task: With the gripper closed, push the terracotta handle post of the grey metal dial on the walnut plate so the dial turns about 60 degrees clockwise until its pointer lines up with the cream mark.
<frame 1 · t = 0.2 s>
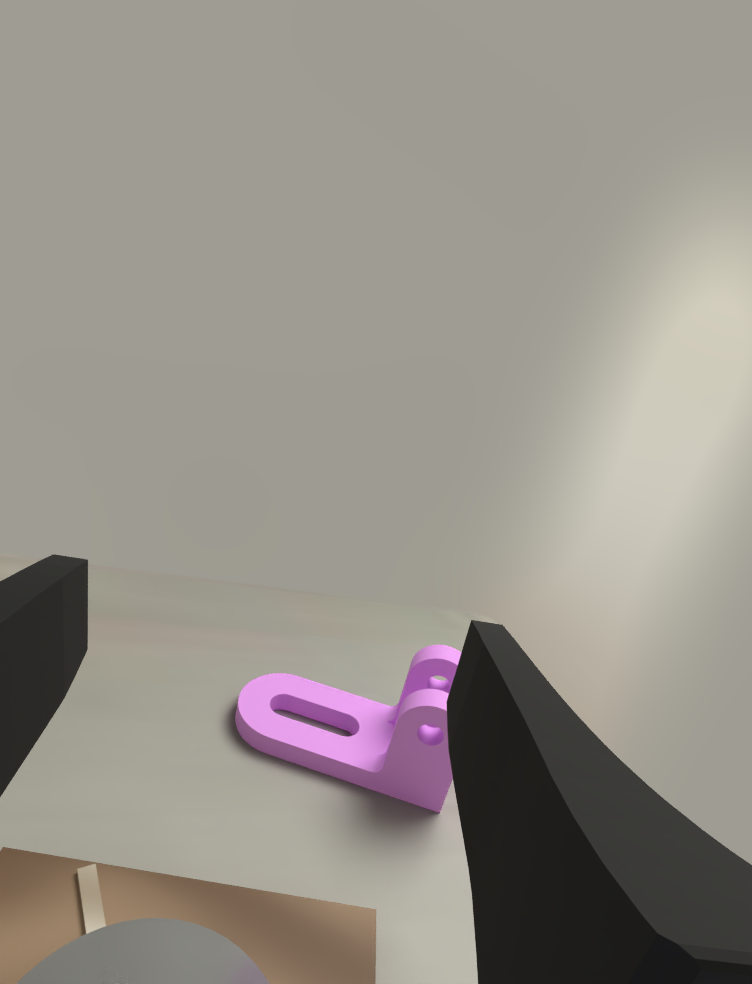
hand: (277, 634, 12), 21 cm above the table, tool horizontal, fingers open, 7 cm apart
bracket: (338, 744, 39), on the table
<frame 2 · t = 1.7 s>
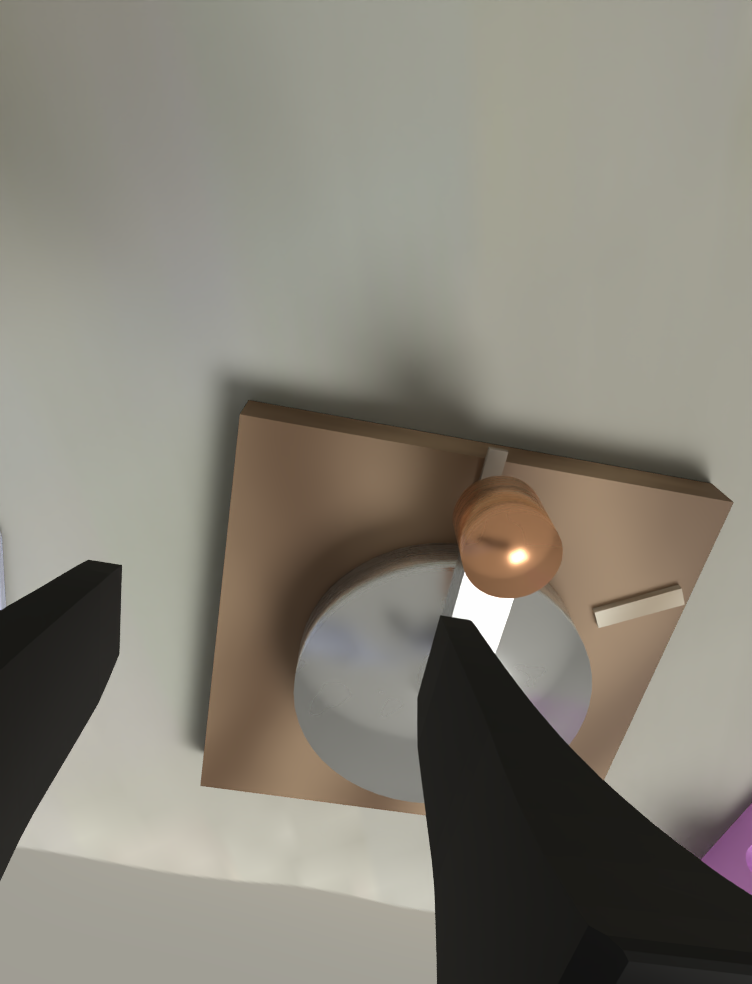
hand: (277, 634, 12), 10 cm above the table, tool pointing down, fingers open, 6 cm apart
dial plate: (433, 634, 25), on the table
dial: (454, 665, 21), point 4 cm above the table, hinge at 0.0°
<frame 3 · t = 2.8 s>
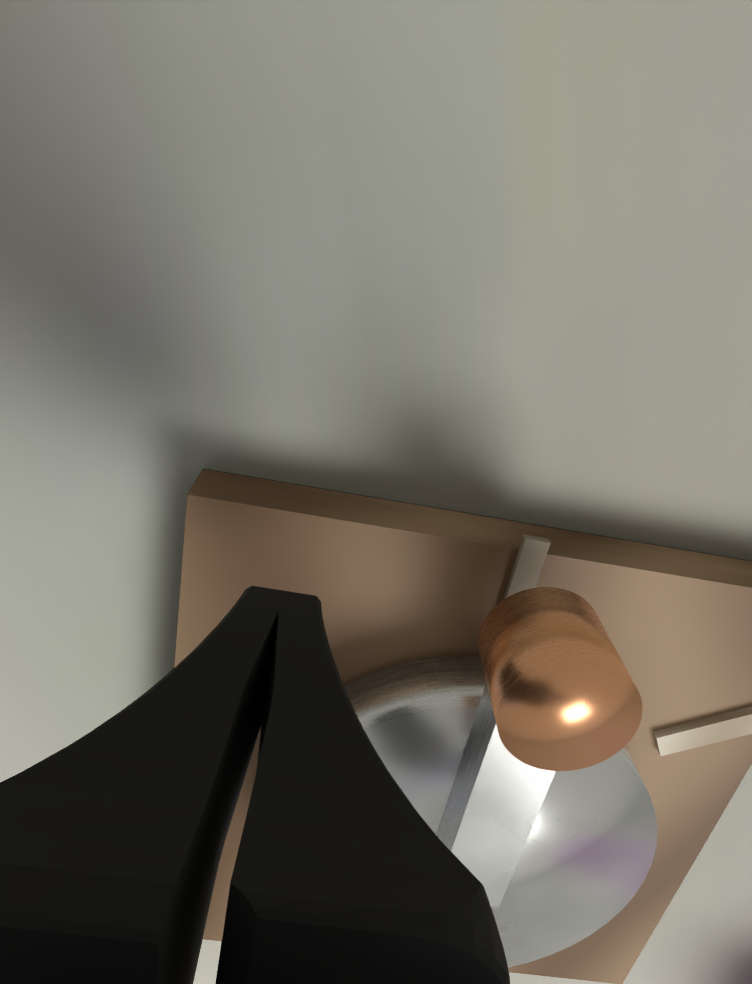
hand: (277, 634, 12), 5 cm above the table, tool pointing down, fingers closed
dial plate: (445, 750, 20), on the table
dial: (477, 821, 16), point 4 cm above the table, hinge at 0.0°
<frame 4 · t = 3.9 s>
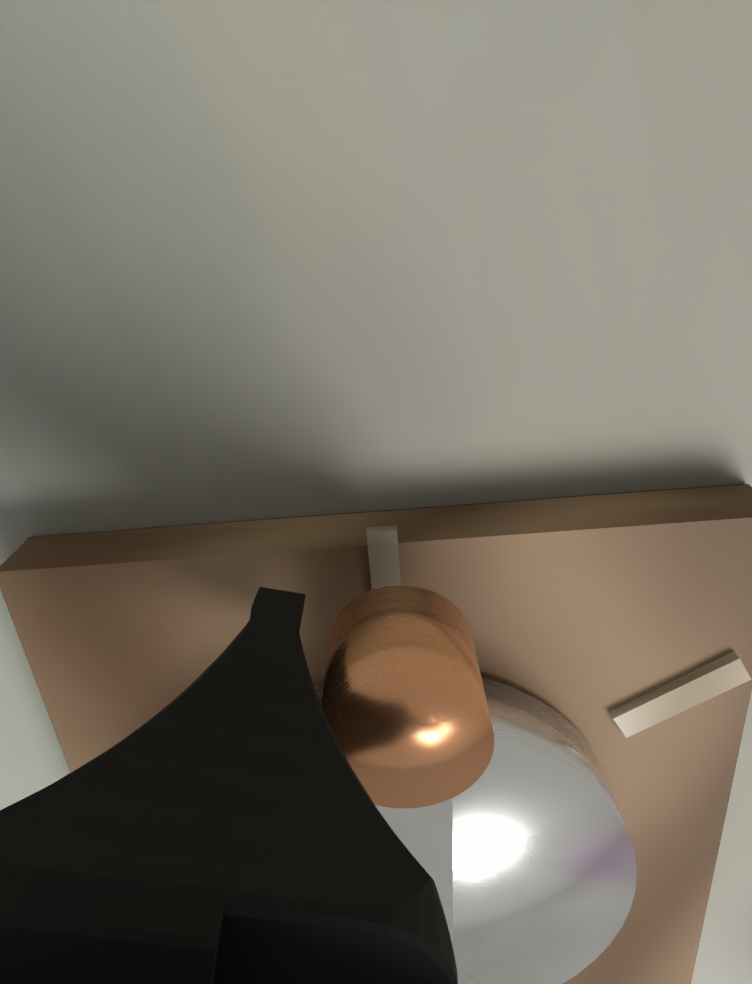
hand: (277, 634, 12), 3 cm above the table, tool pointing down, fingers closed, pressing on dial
dial plate: (404, 772, 18), on the table
dial: (409, 859, 14), point 4 cm above the table, hinge at -1.8°, touching gripper
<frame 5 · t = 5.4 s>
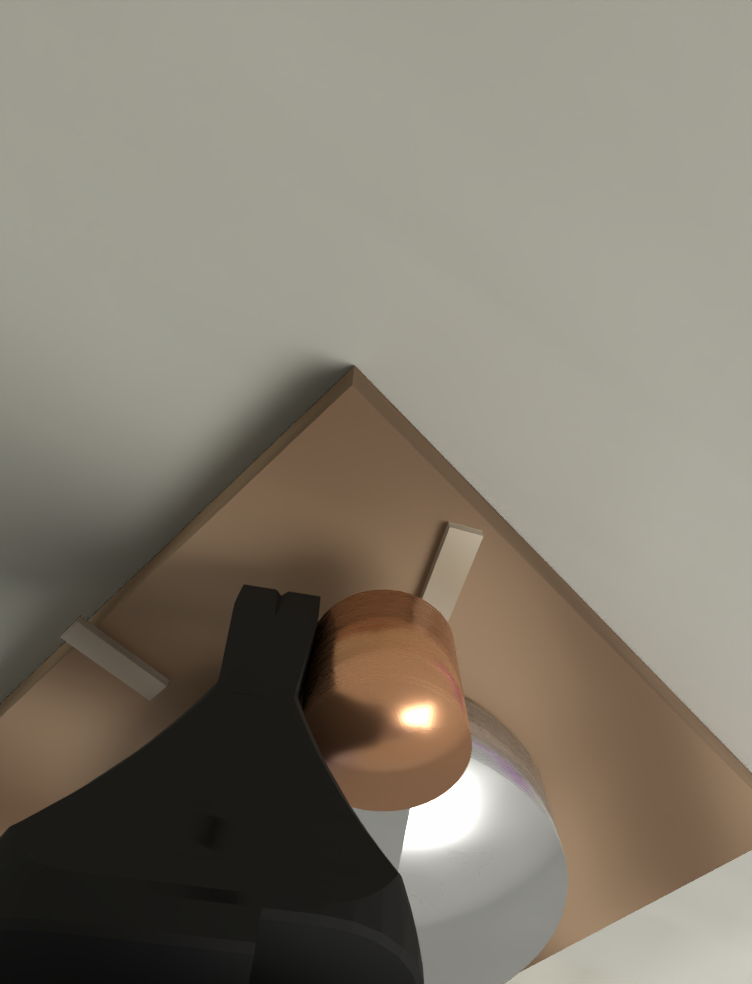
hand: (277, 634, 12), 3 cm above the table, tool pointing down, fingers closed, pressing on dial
dial plate: (350, 773, 18), on the table
dial: (351, 861, 14), point 4 cm above the table, hinge at -50.4°, touching gripper
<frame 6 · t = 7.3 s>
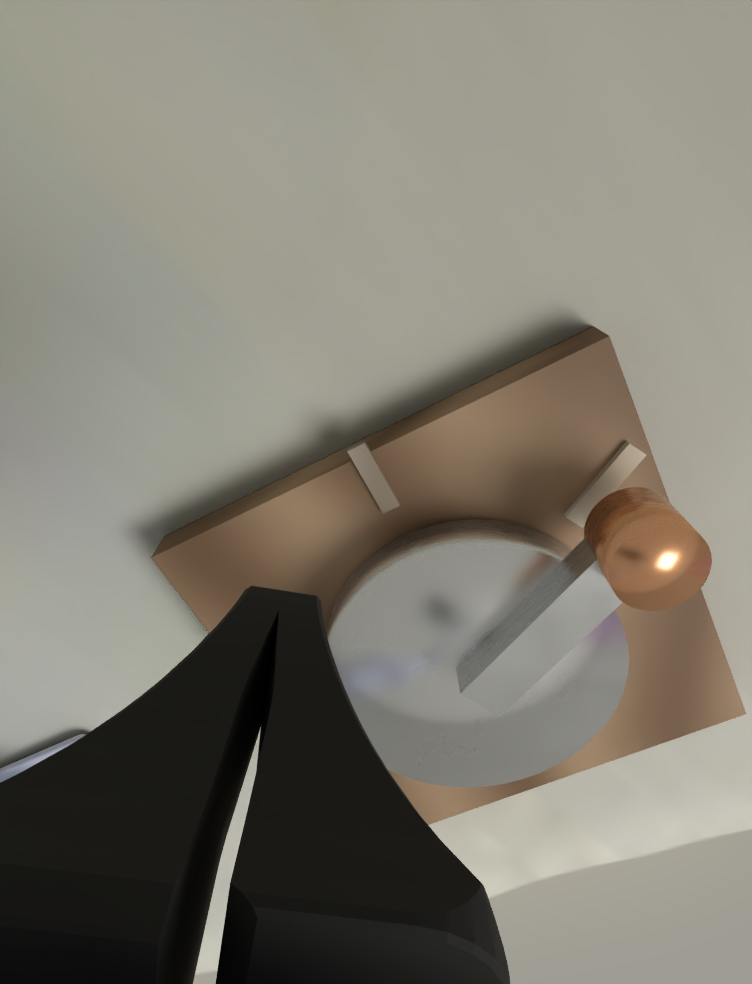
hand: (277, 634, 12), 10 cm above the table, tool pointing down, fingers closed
dial plate: (462, 615, 24), on the table
dial: (509, 651, 20), point 4 cm above the table, hinge at -63.5°
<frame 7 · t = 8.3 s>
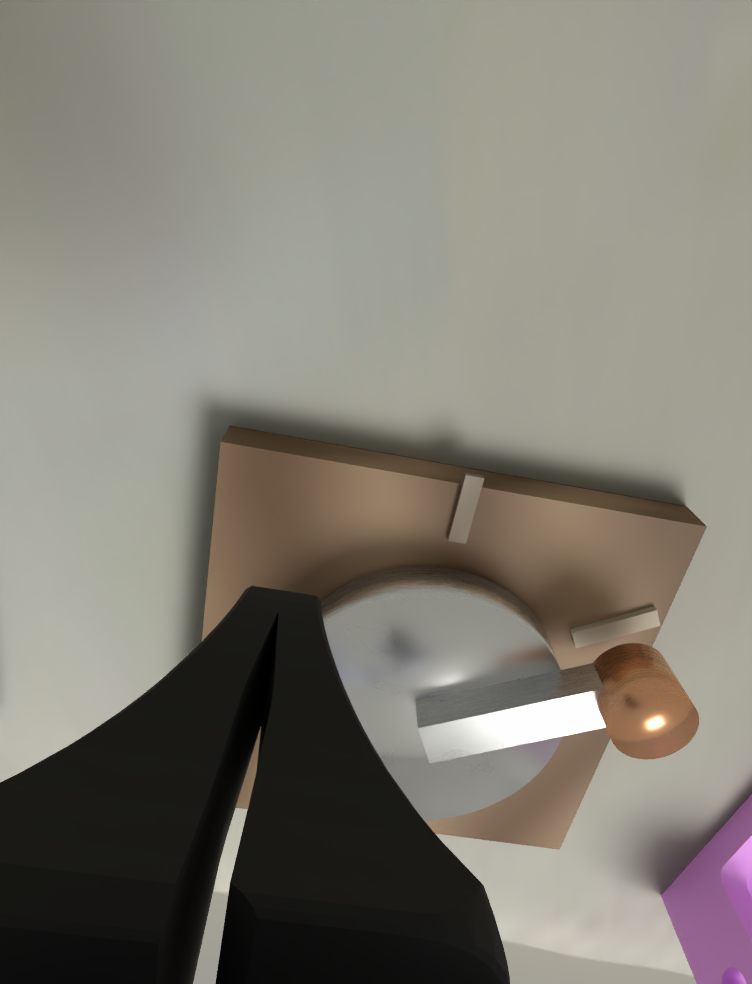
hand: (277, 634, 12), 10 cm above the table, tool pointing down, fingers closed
dial plate: (415, 653, 25), on the table
dial: (469, 714, 22), point 4 cm above the table, hinge at -63.5°
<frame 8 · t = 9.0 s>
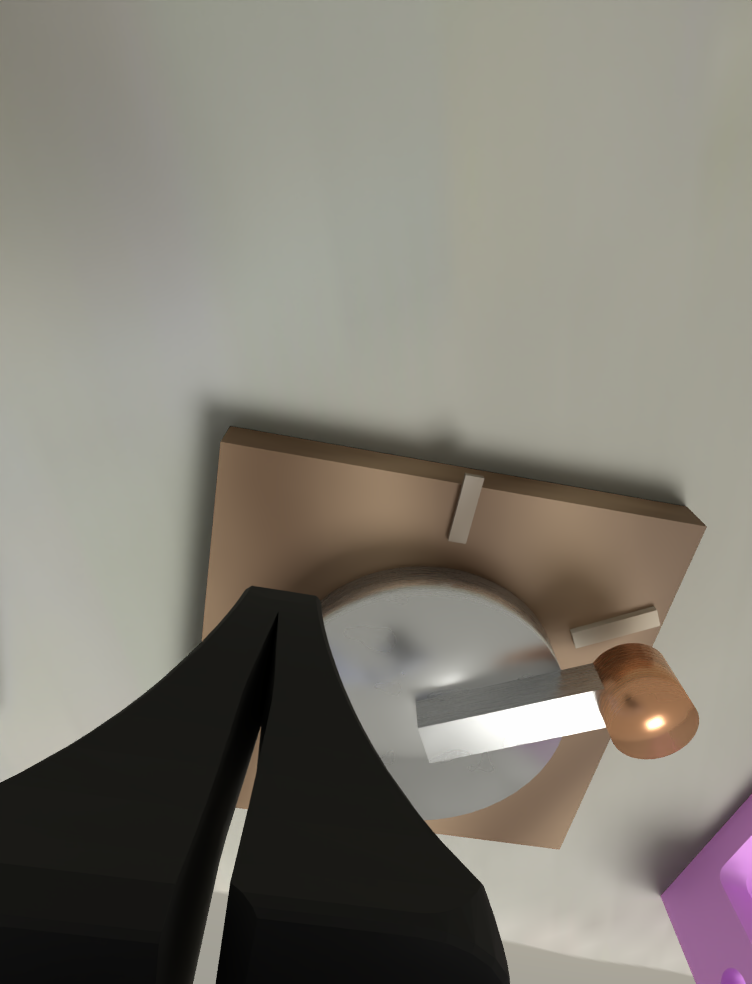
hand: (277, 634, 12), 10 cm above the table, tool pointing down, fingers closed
dial plate: (415, 653, 25), on the table
dial: (469, 714, 22), point 4 cm above the table, hinge at -63.5°
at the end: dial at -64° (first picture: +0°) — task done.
